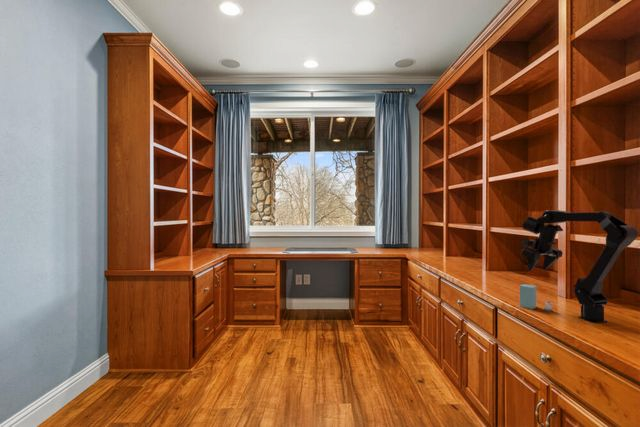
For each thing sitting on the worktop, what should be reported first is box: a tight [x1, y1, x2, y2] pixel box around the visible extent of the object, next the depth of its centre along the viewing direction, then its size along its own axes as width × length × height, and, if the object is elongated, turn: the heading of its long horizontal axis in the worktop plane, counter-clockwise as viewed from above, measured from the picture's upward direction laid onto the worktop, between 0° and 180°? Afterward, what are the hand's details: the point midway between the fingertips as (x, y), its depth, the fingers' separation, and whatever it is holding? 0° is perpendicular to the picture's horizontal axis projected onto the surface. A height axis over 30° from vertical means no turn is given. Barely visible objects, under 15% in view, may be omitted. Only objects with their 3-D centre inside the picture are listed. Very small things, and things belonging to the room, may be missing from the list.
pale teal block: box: [519, 283, 538, 310], centre depth 143 cm, size 5×5×9 cm
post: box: [543, 300, 553, 313], centre depth 137 cm, size 3×3×4 cm
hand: (536, 270), depth 147 cm, fingers open, 9 cm apart
